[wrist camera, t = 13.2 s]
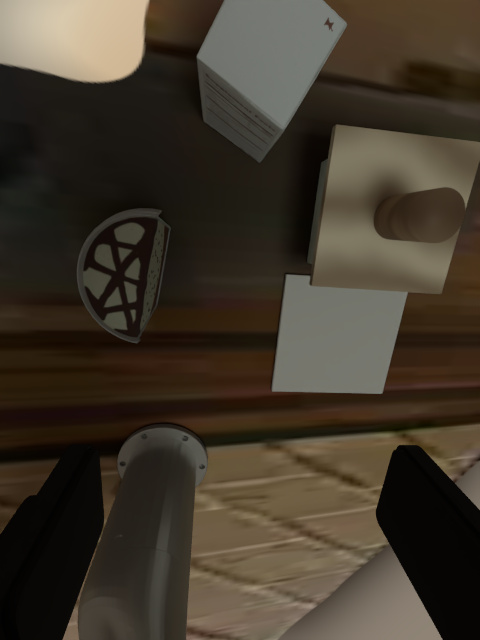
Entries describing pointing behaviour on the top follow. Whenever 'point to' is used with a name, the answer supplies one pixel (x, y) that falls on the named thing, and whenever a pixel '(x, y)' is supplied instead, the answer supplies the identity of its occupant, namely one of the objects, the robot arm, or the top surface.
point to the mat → (335, 338)
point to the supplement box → (262, 66)
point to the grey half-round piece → (124, 270)
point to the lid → (391, 209)
